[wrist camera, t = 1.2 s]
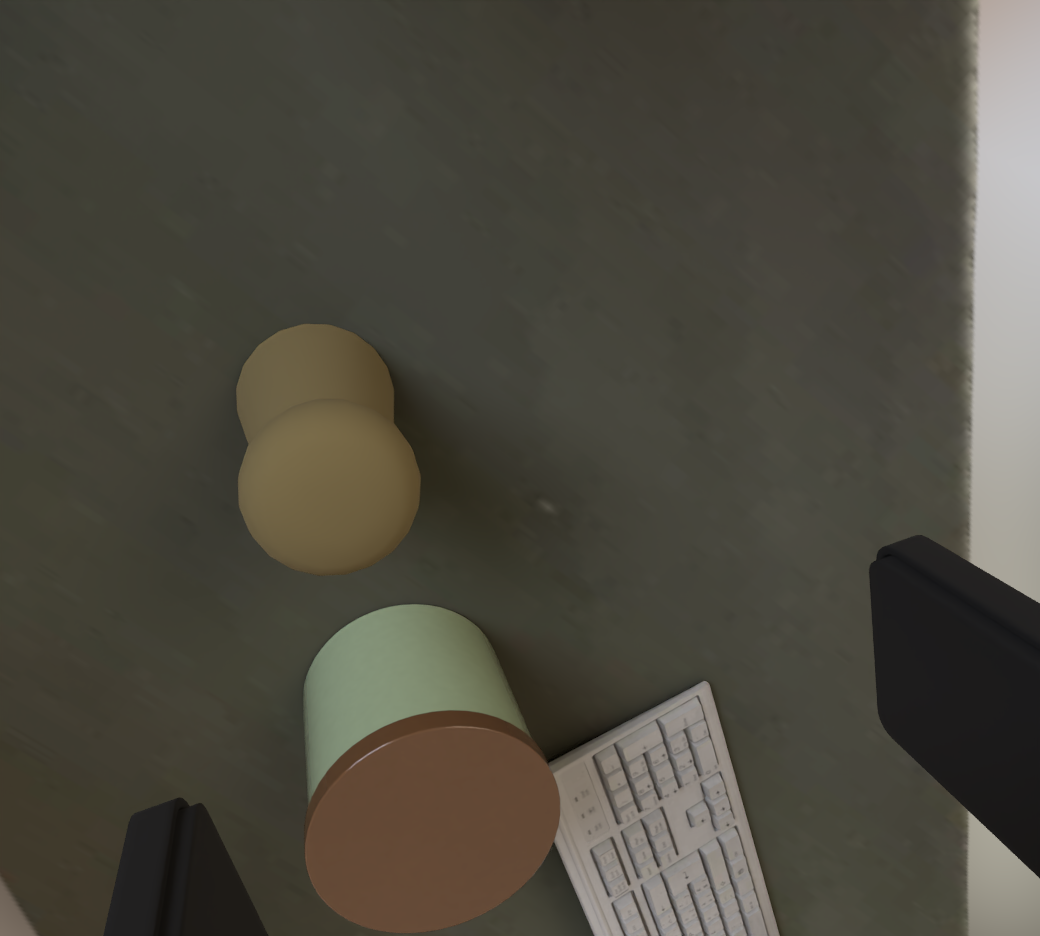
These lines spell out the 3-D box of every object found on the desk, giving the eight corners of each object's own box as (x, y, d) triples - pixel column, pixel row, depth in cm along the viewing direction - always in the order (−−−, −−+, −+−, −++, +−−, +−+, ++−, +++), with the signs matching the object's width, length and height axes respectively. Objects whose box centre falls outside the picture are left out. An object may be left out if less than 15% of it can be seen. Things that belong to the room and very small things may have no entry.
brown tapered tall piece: (200, 399, 32) (166, 515, 22) (317, 289, 32) (336, 358, 22) (317, 501, 34) (333, 646, 24) (425, 401, 34) (487, 507, 24)
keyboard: (798, 1009, 55) (815, 1038, 54) (657, 1082, 54) (670, 1114, 52) (704, 676, 43) (723, 699, 41) (520, 761, 42) (531, 789, 40)
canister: (252, 693, 37) (246, 849, 29) (421, 559, 37) (462, 678, 28) (388, 806, 41) (416, 971, 33) (540, 687, 41) (606, 822, 33)
